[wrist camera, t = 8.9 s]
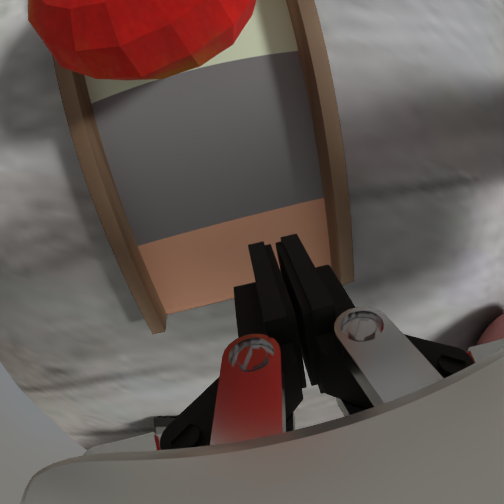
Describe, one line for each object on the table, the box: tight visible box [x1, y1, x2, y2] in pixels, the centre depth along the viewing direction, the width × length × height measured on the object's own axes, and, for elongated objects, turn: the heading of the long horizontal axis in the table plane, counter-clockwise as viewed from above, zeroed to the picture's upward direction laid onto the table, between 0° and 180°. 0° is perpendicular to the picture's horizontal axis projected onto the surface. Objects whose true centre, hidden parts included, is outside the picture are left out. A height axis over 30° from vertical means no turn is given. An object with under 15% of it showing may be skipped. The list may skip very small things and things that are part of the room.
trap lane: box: [53, 0, 354, 334], centre depth 15 cm, size 15×31×2 cm, turn 12°
